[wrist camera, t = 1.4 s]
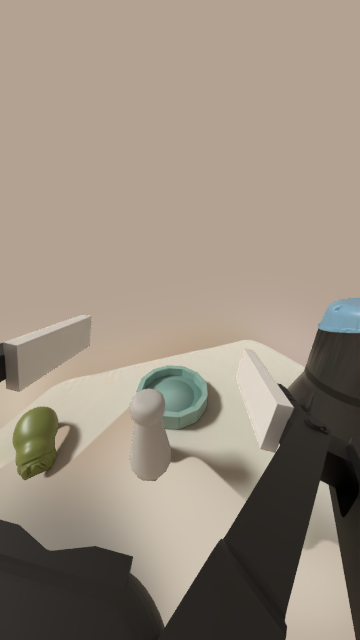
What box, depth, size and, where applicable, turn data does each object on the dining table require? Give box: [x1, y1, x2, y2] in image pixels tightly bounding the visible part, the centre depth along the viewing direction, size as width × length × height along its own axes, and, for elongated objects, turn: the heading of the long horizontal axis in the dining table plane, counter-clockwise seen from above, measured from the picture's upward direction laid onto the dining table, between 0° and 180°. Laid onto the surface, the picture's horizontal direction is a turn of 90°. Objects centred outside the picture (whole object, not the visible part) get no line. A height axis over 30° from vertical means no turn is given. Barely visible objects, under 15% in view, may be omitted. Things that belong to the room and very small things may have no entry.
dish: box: [137, 366, 208, 430], centre depth 38 cm, size 14×14×3 cm
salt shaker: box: [129, 389, 171, 481], centre depth 24 cm, size 6×6×13 cm
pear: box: [13, 407, 58, 480], centre depth 28 cm, size 6×5×10 cm
